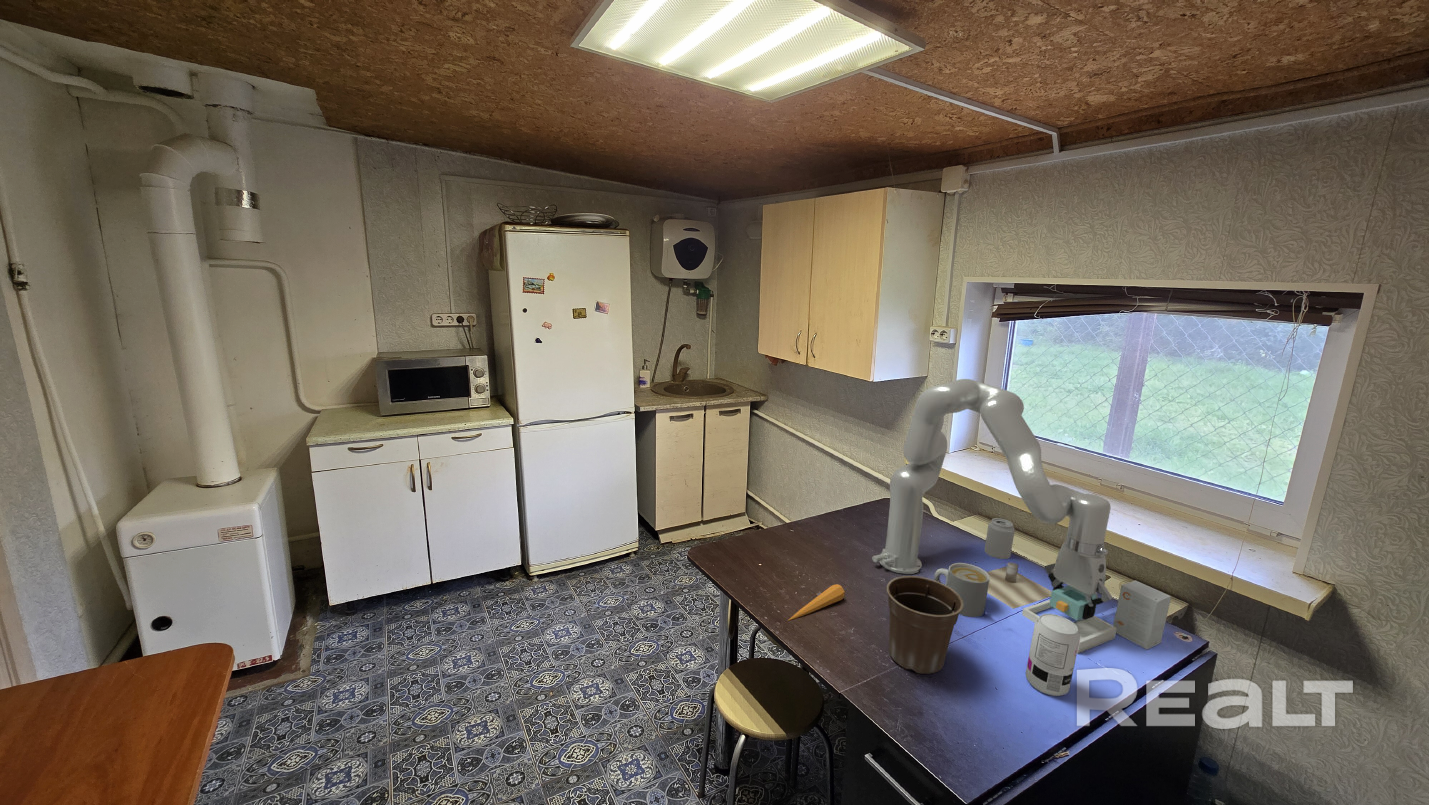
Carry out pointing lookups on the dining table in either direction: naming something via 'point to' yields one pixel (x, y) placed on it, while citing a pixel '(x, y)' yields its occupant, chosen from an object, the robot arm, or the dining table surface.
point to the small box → (1141, 614)
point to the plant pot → (921, 622)
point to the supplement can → (1052, 654)
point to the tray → (1079, 627)
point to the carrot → (822, 600)
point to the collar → (1069, 601)
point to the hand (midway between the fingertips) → (1071, 608)
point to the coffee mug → (967, 586)
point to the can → (999, 538)
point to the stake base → (1014, 587)
